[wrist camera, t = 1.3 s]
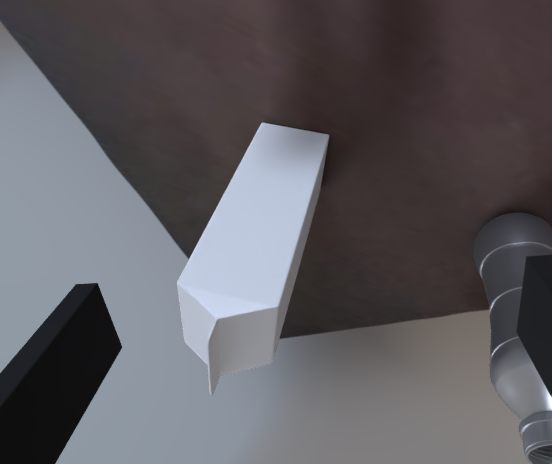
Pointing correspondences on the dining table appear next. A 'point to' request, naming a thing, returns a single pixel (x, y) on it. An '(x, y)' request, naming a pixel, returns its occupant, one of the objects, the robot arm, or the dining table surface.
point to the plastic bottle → (515, 324)
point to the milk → (252, 252)
